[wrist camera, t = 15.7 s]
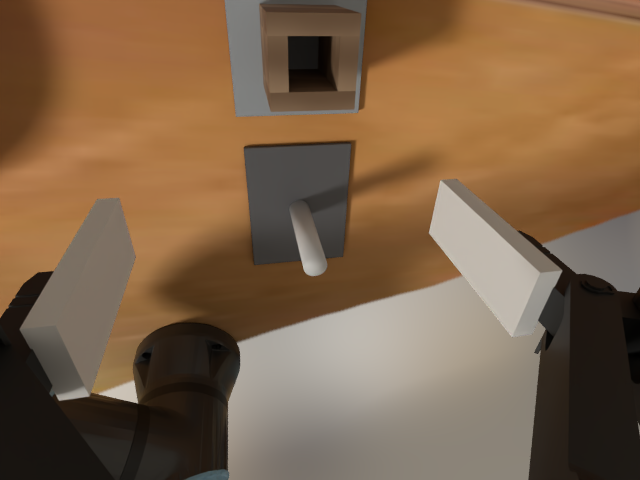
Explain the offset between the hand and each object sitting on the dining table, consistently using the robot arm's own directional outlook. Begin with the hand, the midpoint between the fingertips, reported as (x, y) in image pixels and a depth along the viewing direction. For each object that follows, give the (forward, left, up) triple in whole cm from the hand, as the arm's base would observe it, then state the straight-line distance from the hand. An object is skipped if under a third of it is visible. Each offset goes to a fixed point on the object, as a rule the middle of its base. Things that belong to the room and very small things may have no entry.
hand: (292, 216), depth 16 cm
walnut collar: (+3, -4, -27) cm, 28 cm away
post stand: (-15, -4, -28) cm, 32 cm away
